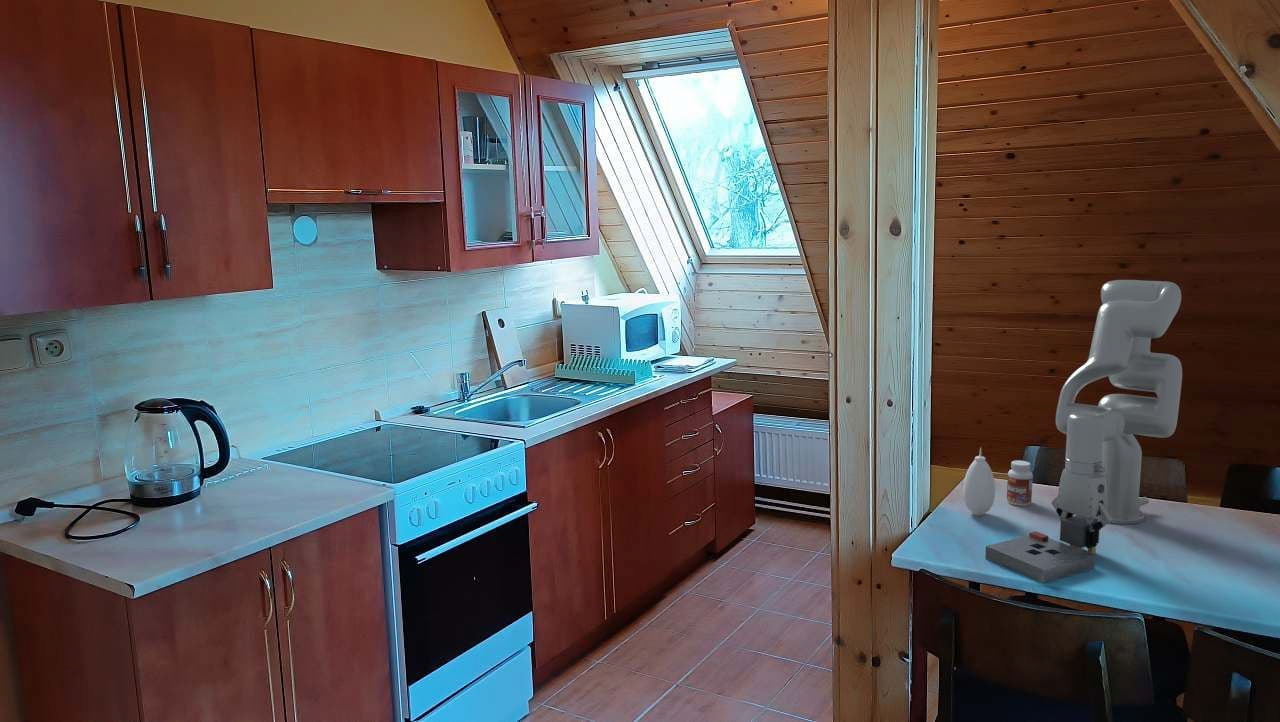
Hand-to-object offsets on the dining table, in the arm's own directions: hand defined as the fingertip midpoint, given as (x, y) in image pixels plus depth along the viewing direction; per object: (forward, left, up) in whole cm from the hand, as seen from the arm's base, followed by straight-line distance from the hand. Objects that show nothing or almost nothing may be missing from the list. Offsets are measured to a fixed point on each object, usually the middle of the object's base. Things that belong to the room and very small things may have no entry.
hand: (1079, 541), depth 214 cm
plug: (0, 0, -2) cm, 2 cm away
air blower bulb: (0, -30, -3) cm, 30 cm away
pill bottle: (-16, -31, -3) cm, 35 cm away
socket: (+13, 0, -2) cm, 13 cm away
